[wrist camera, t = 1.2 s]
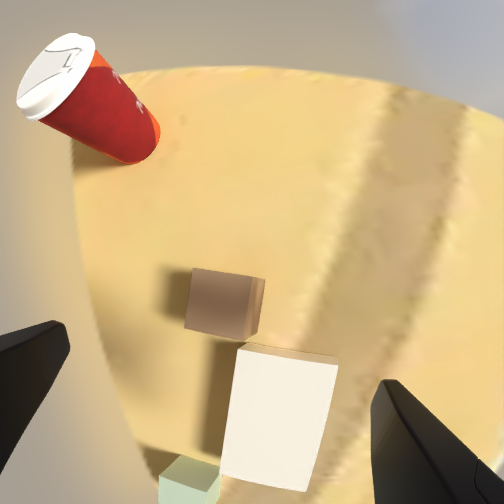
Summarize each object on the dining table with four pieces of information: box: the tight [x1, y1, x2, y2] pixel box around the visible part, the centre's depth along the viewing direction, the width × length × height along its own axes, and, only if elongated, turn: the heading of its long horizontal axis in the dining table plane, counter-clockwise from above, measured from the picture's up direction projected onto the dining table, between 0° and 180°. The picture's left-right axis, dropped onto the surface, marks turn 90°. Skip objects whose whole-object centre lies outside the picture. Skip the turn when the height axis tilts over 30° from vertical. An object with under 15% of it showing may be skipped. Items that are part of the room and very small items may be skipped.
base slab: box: [219, 343, 338, 492], centre depth 21 cm, size 11×7×3 cm, turn 171°
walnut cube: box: [184, 268, 265, 341], centre depth 23 cm, size 4×4×4 cm
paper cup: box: [17, 33, 160, 164], centre depth 22 cm, size 8×8×14 cm
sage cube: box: [158, 455, 222, 504], centre depth 21 cm, size 4×4×4 cm
